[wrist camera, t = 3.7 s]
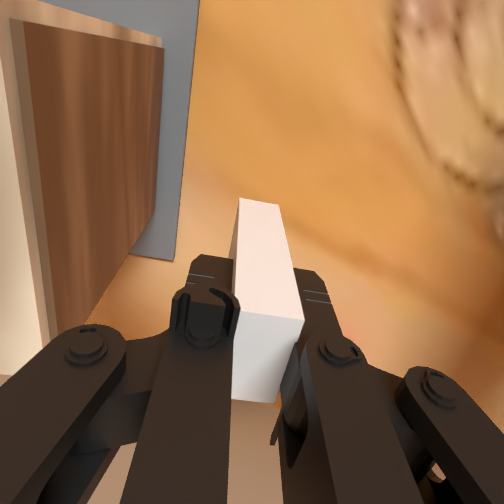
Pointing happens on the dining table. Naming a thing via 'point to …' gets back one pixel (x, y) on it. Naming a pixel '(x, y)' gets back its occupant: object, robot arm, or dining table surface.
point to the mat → (172, 105)
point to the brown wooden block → (70, 165)
